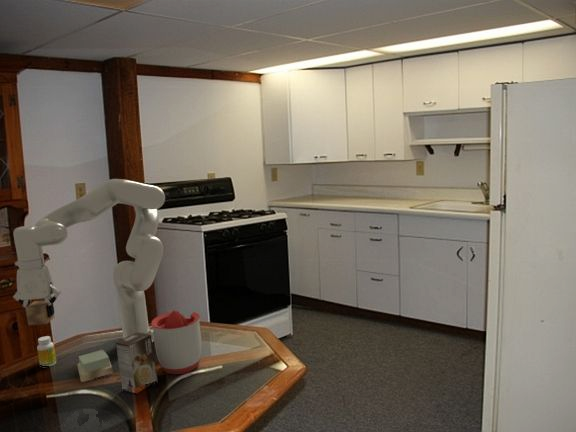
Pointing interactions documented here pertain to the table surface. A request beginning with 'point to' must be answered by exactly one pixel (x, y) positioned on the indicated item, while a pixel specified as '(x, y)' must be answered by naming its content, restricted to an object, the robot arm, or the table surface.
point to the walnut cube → (37, 313)
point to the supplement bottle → (46, 351)
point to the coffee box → (136, 360)
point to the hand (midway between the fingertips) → (40, 316)
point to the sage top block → (94, 361)
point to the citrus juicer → (177, 342)
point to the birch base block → (93, 372)
